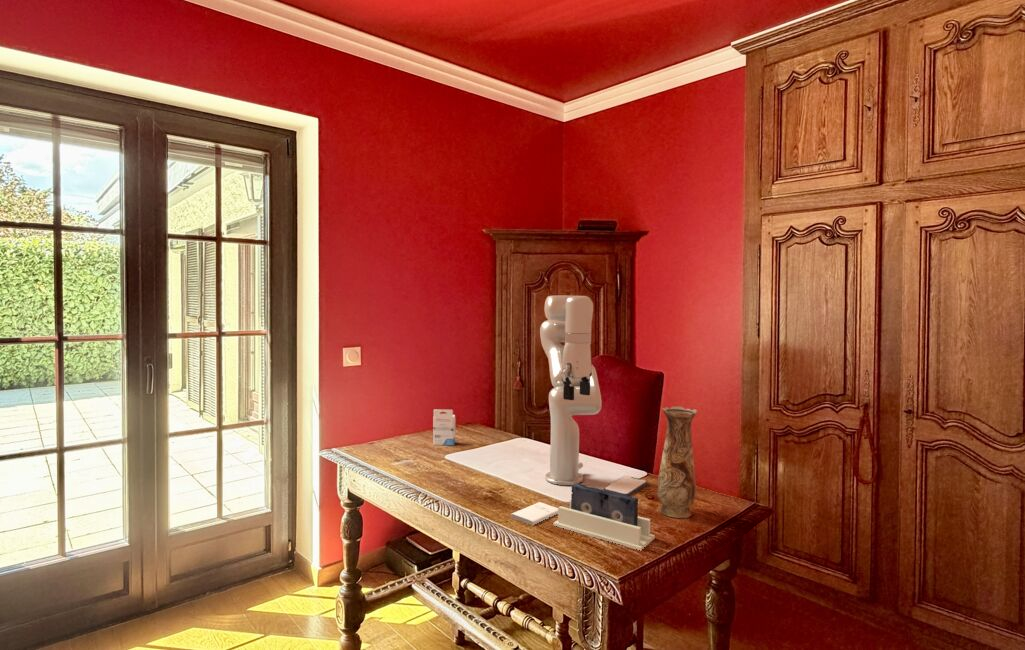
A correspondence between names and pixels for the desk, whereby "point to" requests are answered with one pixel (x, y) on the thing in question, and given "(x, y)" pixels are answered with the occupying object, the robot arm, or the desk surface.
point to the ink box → (443, 427)
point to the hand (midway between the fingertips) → (576, 397)
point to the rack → (606, 528)
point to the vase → (677, 464)
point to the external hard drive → (535, 513)
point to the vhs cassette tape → (604, 504)
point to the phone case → (626, 485)
